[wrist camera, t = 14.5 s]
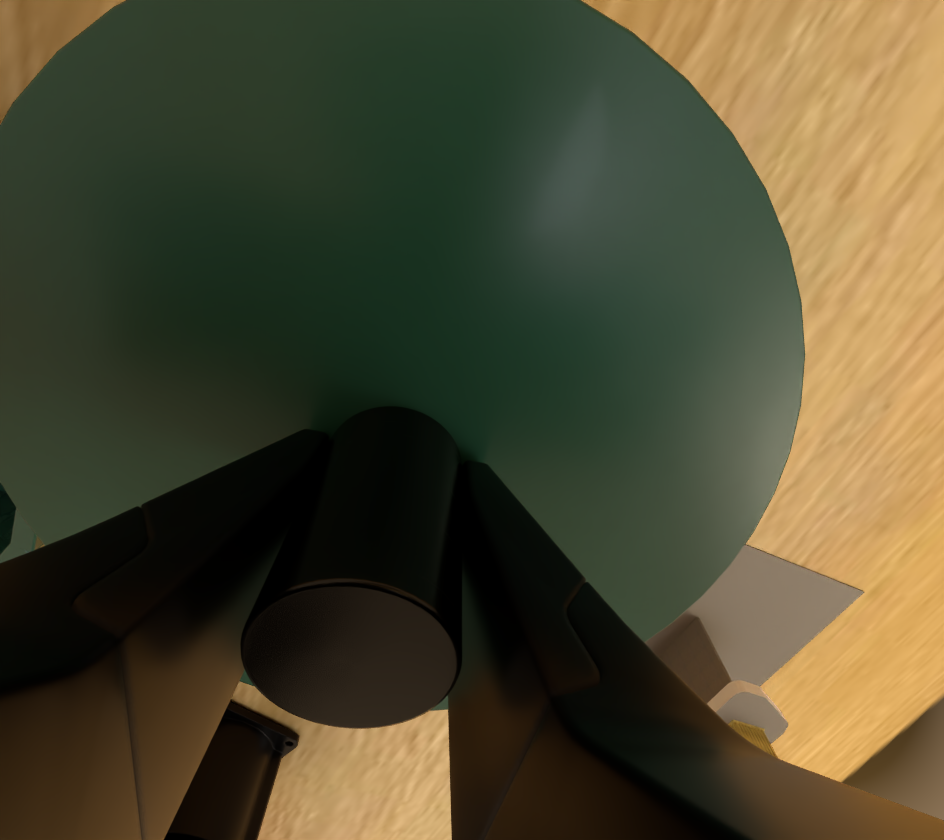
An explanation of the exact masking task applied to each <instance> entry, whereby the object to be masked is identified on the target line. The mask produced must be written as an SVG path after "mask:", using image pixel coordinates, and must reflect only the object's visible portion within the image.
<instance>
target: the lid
mask: <svg viewBox="0 0 944 840" xmlns="http://www.w3.org/2000/svg"><path fill="white" fill-rule="evenodd" d="M804 361H805V347H804V333H803V319H802V304H801V298H800V294H799V289H798V285H797V280H796V276H795V272H794V267H793V263H792V258H791V254H790V250H789V246H788V243H787V241H786V238H785V236H784V233H783V231H782V228H781V226H780V223H779V221H778V218H777V216H776V213H775V211H774V208H773V205H772V203H771V200H770V198H769V195H768V193H767V190H766V188H765V187H764V185H763V183H762V182H761V180H760V178H759V176H758V175H757V173H756V171H755V170H754V168H753V166H752V165H751V163H750V161H749V160H748V158H747V156H746V155H745V153H744V151H743V150H742V148H741V146H740V145H739V143H738V141H737V140H736V138H735V136H734V135H733V133H732V132H731V131H730V129H729V128H728V127H727V126H726V125H725V123H724V122H723V121H722V120H721V119H720V117H719V116H718V115H717V114H716V113H715V112H714V110H713V109H712V108H711V107H710V106H709V104H708V103H707V102H706V101H705V100H704V98H703V97H702V96H701V95H700V94H699V92H698V91H697V90H696V89H695V88H694V86H693V85H692V84H691V83H690V82H689V81H688V80H687V79H686V78H685V77H684V76H683V75H682V74H681V73H679V72H678V71H677V70H676V69H675V68H674V67H672V66H671V65H670V64H669V63H668V62H667V61H665V60H664V59H663V58H662V57H661V56H660V55H659V54H657V53H656V52H655V51H654V50H653V49H652V48H650V47H649V46H648V45H647V44H646V43H645V42H643V41H642V40H641V39H640V38H639V37H638V36H637V35H635V34H634V33H633V32H632V31H630V30H628V29H627V28H625V27H623V26H622V25H620V24H619V23H617V22H615V21H614V20H612V19H610V18H609V17H607V16H605V15H604V14H602V13H601V12H599V11H597V10H596V9H594V8H592V7H591V6H589V5H588V4H586V3H584V2H583V1H581V0H126V1H124V2H122V3H120V4H118V5H116V6H114V7H113V8H112V9H110V10H109V11H108V12H107V13H105V14H104V15H103V16H102V17H100V18H99V19H98V20H96V21H95V22H94V23H93V24H91V25H90V26H89V27H88V28H86V29H85V30H84V31H83V32H81V33H80V34H79V35H78V36H76V37H75V38H74V39H72V40H71V41H70V42H69V43H67V44H66V45H65V46H64V47H62V48H61V49H60V50H59V51H57V52H56V53H55V55H54V56H53V57H52V58H51V59H50V60H49V62H48V63H47V64H46V65H45V66H44V67H43V69H42V70H41V71H40V72H39V73H38V74H37V76H36V77H35V78H34V79H33V80H32V81H31V83H30V84H29V85H28V86H27V87H26V88H25V89H24V91H23V92H22V93H21V94H20V95H19V96H18V98H17V99H16V100H15V101H14V102H13V104H12V105H11V107H10V109H9V111H8V112H7V114H6V116H5V118H4V119H3V121H2V123H1V125H0V483H1V484H2V486H3V487H4V489H5V491H6V492H7V494H8V495H9V497H10V498H11V500H12V502H13V503H14V505H15V506H16V508H17V510H18V511H19V513H20V514H21V516H22V517H23V519H24V520H25V522H26V523H27V524H28V525H29V527H30V528H31V529H32V530H33V532H34V533H35V534H36V535H37V537H38V538H39V539H40V540H41V542H42V543H43V544H44V545H45V546H46V545H49V544H51V543H54V542H56V541H59V540H61V539H64V538H66V537H69V536H71V535H74V534H76V533H78V532H81V531H83V530H85V529H87V528H90V527H92V526H94V525H96V524H99V523H101V522H103V521H106V520H108V519H110V518H112V517H115V516H117V515H119V514H121V513H123V512H125V511H128V510H130V509H132V508H134V507H136V506H139V507H141V505H142V504H143V503H145V502H147V501H150V500H152V499H154V498H156V497H158V496H160V495H162V494H165V493H167V492H169V491H171V490H173V489H175V488H178V487H180V486H182V485H184V484H186V483H188V482H191V481H193V480H195V479H197V478H199V477H201V476H203V475H206V474H208V473H210V472H212V471H214V470H216V469H219V468H221V467H223V466H225V465H227V464H229V463H231V462H234V461H236V460H238V459H240V458H242V457H244V456H247V455H249V454H251V453H253V452H255V451H257V450H260V449H262V448H264V447H266V446H268V445H270V444H272V443H275V442H277V441H279V440H281V439H283V438H285V437H288V436H290V435H292V434H294V433H296V432H298V431H301V430H303V429H310V430H315V431H321V432H325V433H327V434H328V446H327V448H326V450H325V452H324V455H323V457H322V459H321V461H320V463H319V465H318V467H317V470H316V472H315V474H314V476H313V478H312V480H311V483H310V485H309V487H308V489H307V491H306V493H305V496H304V498H303V500H302V502H301V504H300V506H299V509H298V511H297V513H296V515H295V517H294V519H293V522H292V524H291V526H290V528H289V530H288V532H287V534H286V537H285V539H284V541H283V543H282V545H281V547H280V550H279V552H278V554H277V556H276V558H275V560H274V563H273V565H272V567H271V569H270V571H269V573H268V576H267V578H266V580H265V582H264V584H263V586H262V589H261V591H260V593H259V595H258V597H257V599H256V602H255V604H254V606H253V608H252V610H251V612H250V614H249V617H248V619H247V621H246V623H245V626H244V628H243V631H242V635H241V642H240V649H241V659H242V663H243V667H244V669H245V670H244V672H243V675H242V677H241V679H240V681H241V682H244V683H246V684H249V685H252V686H255V687H256V688H257V689H258V690H259V691H260V692H261V693H262V694H263V695H264V696H265V697H266V698H267V699H269V700H270V701H271V702H273V703H274V704H276V705H277V706H278V707H280V708H282V709H284V710H285V711H287V712H289V713H291V714H293V715H296V716H298V717H300V718H303V719H306V720H309V721H312V722H315V723H319V724H323V725H328V726H334V727H341V728H354V729H366V728H379V727H385V726H391V725H395V724H399V723H403V722H406V721H409V720H412V719H414V718H416V717H419V716H421V715H423V714H425V713H426V712H428V711H434V710H447V709H448V694H449V693H450V691H451V690H452V688H453V687H454V685H455V683H456V681H457V679H458V677H459V674H460V671H461V666H462V467H463V464H464V462H465V461H467V460H471V461H476V462H481V463H486V464H488V465H489V466H490V468H491V469H492V470H493V471H494V472H495V473H496V475H497V476H498V477H499V478H500V479H501V480H502V481H503V483H504V484H505V485H506V486H507V487H508V488H509V490H510V491H511V492H512V493H513V494H514V495H515V497H516V498H517V499H518V500H519V501H520V502H521V504H522V505H523V506H524V507H525V508H526V509H527V511H528V512H529V513H530V514H531V515H532V516H533V518H534V519H535V520H536V521H537V522H538V523H539V525H540V526H541V527H542V528H543V529H544V530H545V532H546V533H547V534H548V535H549V536H550V537H551V539H552V540H553V541H554V542H555V543H556V544H557V546H558V547H559V548H560V549H561V550H562V551H563V553H564V554H565V555H566V556H567V557H568V558H569V560H570V561H571V562H572V563H573V564H574V565H575V566H576V568H577V569H578V570H579V571H580V572H581V573H582V575H583V576H584V577H585V578H586V582H589V583H590V584H591V585H592V586H593V587H594V588H595V590H596V591H597V592H598V593H599V594H600V595H601V597H602V598H603V599H604V600H605V601H606V602H607V603H608V604H609V605H610V607H611V608H612V609H613V610H614V611H615V612H616V613H617V614H618V615H619V617H620V618H621V619H622V620H623V621H624V622H625V623H626V624H627V625H628V626H629V627H630V628H631V629H632V630H633V631H634V632H635V633H636V634H637V635H638V636H639V637H640V638H641V639H642V640H643V641H644V642H646V641H648V640H649V639H650V638H652V637H653V636H655V635H656V634H657V633H659V632H660V631H662V630H663V629H664V628H666V627H667V626H669V625H670V624H671V623H673V622H674V621H675V620H676V619H677V618H678V617H679V616H681V615H682V614H683V613H684V612H685V611H686V610H687V609H689V608H690V607H691V606H692V605H693V604H694V603H695V602H696V601H698V600H699V599H700V598H701V597H702V596H703V595H704V594H705V593H706V592H707V590H708V589H709V588H710V587H711V586H712V585H713V584H714V583H715V582H716V581H717V579H718V578H719V577H720V576H721V575H722V574H723V573H724V572H725V571H726V569H727V568H728V567H729V566H730V565H731V563H732V562H733V560H734V559H735V558H736V556H737V555H738V553H739V552H740V551H741V549H742V548H743V546H744V545H745V544H746V542H747V541H748V539H749V538H750V537H751V535H752V534H753V532H754V531H755V529H756V527H757V525H758V523H759V521H760V519H761V518H762V516H763V514H764V512H765V510H766V508H767V506H768V504H769V503H770V501H771V499H772V497H773V495H774V493H775V491H776V488H777V485H778V483H779V480H780V477H781V475H782V472H783V469H784V467H785V464H786V462H787V459H788V456H789V454H790V451H791V446H792V442H793V438H794V433H795V429H796V425H797V420H798V416H799V411H800V407H801V399H802V386H803V374H804Z"/></svg>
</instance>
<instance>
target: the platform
mask: <svg viewBox="0 0 944 840" xmlns="http://www.w3.org/2000/svg"><path fill="white" fill-rule="evenodd" d="M863 593H864V592H863V591H861V590H858V589H855V588H853V587H850V586H848V585H845V584H843V583H840V582H838V581H835V580H833V579H830V578H828V577H825V576H823V575H820V574H818V573H815V572H813V571H810V570H808V569H805V568H803V567H800V566H798V565H795V564H793V563H790V562H788V561H785V560H783V559H780V558H778V557H775V556H772V555H770V554H767V553H765V552H762V551H760V550H757V549H755V548H752V547H750V546H747V545H744V546H743V548H742V549H741V551H740V552H739V553H738V555H737V556H736V558H735V559H734V560H733V562H732V563H731V565H730V566H729V567H728V568H727V569H726V571H725V572H724V573H723V574H722V575H721V576H720V577H719V578H718V579H717V581H716V582H715V583H714V584H713V585H712V586H711V587H710V588H709V589H708V590H707V592H706V593H705V594H704V595H703V596H702V597H701V598H700V599H699V600H698V601H696V602H695V603H694V604H693V605H692V606H691V607H690V608H689V609H687V610H686V611H685V612H684V613H683V614H682V615H681V616H679V617H678V618H677V619H676V620H675V621H674V622H673V623H671V624H670V625H669V626H667V627H666V628H664V629H663V630H662V631H660V632H659V633H657V634H656V635H655V636H653V637H652V638H650V639H649V640H648V641H646V642H645V644H646V645H647V646H648V647H649V648H650V649H651V650H652V651H653V652H654V653H655V654H656V655H657V656H658V657H660V658H661V659H662V660H663V661H664V662H665V663H666V664H667V665H668V666H669V667H670V668H671V669H672V670H673V671H674V672H675V673H676V674H677V675H678V676H679V677H680V678H681V679H682V680H683V681H684V682H685V683H686V684H687V685H688V686H689V687H690V688H691V689H692V690H693V691H694V692H695V693H696V694H697V695H698V696H699V697H700V698H701V699H702V700H703V701H704V702H705V703H706V704H707V705H708V706H709V707H710V708H711V709H713V710H714V711H715V712H716V713H717V714H718V715H719V716H720V717H721V718H722V719H723V720H724V721H725V722H726V723H727V724H728V725H729V726H730V727H733V729H734V730H735V731H736V732H737V733H739V734H740V735H741V736H743V737H744V738H745V739H746V740H748V741H749V742H751V743H752V744H754V745H755V746H757V747H758V748H760V749H762V750H763V751H765V752H767V753H769V754H771V755H773V756H774V757H776V758H778V757H777V755H776V754H775V752H774V750H773V748H772V746H771V743H772V742H774V741H775V740H776V739H777V738H778V737H780V736H781V735H782V734H783V733H784V732H785V730H786V728H787V727H788V723H787V721H786V719H785V717H784V716H783V714H782V712H781V711H780V709H779V708H778V707H777V706H776V705H775V704H774V702H773V701H772V700H771V699H770V698H769V697H768V696H767V694H766V693H765V692H764V691H763V690H762V689H761V687H760V686H761V685H762V684H763V683H764V682H766V681H767V680H768V679H769V678H770V677H771V676H772V675H773V674H774V673H775V672H777V671H778V670H779V669H780V668H781V667H782V666H783V665H784V664H785V663H787V662H788V661H789V660H790V659H791V658H792V657H793V656H794V655H795V654H797V653H798V652H799V651H800V650H801V649H802V648H803V647H804V646H805V645H806V644H808V643H809V642H810V641H811V640H812V639H813V638H814V637H815V636H816V635H818V634H819V633H820V632H821V631H822V630H823V629H824V628H825V627H826V626H828V625H829V624H830V623H831V622H832V621H833V620H834V619H835V618H836V617H837V616H839V615H840V614H841V613H842V612H843V611H844V610H845V609H846V608H847V607H849V606H850V605H851V604H852V603H853V602H854V601H855V600H856V599H857V598H859V597H860V596H861V595H862V594H863ZM731 725H732V726H731Z"/></svg>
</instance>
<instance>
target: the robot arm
mask: <svg viewBox="0 0 944 840" xmlns="http://www.w3.org/2000/svg"><path fill="white" fill-rule="evenodd" d="M327 446H328V434H327V433H325V432H321V431H315V430H310V429H303V430H301V431H298V432H296V433H294V434H292V435H290V436H288V437H285V438H283V439H281V440H279V441H277V442H275V443H272V444H270V445H268V446H266V447H264V448H262V449H260V450H257V451H255V452H253V453H251V454H249V455H247V456H244V457H242V458H240V459H238V460H236V461H234V462H231V463H229V464H227V465H225V466H223V467H221V468H219V469H216V470H214V471H212V472H210V473H208V474H206V475H203V476H201V477H199V478H197V479H195V480H193V481H191V482H188V483H186V484H184V485H182V486H180V487H178V488H175V489H173V490H171V491H169V492H167V493H165V494H162V495H160V496H158V497H156V498H154V499H152V500H150V501H147V502H145V503H143V504H142V505H141V507H139V506H136V507H134V508H132V509H130V510H128V511H125V512H123V513H121V514H119V515H117V516H115V517H112V518H110V519H108V520H106V521H103V522H101V523H99V524H96V525H94V526H92V527H90V528H87V529H85V530H83V531H81V532H78V533H76V534H74V535H71V536H69V537H66V538H64V539H61V540H59V541H56V542H54V543H51V544H49V545H46V546H44V547H41V548H38V549H36V550H33V551H31V552H28V553H26V554H23V555H21V556H18V557H15V558H13V559H10V560H7V561H5V562H2V563H0V840H257V839H258V835H259V832H260V829H261V825H262V822H263V819H264V815H265V812H266V809H267V805H268V802H269V799H270V795H271V792H272V789H273V785H274V782H275V779H276V775H277V772H278V768H279V765H280V762H281V758H283V757H284V756H285V755H286V754H288V753H289V752H290V751H292V750H293V749H294V748H296V747H297V745H298V742H299V735H298V734H296V733H294V732H292V731H290V730H288V729H286V728H284V727H282V726H280V725H277V724H275V723H273V722H271V721H269V720H267V719H265V718H263V717H261V716H258V715H256V714H254V713H252V712H250V711H248V710H246V709H244V708H242V707H239V706H237V705H235V704H233V703H231V702H230V700H231V698H232V695H233V693H234V691H235V689H236V687H237V685H238V683H239V681H240V679H241V677H242V675H243V672H244V670H245V669H244V667H243V663H242V659H241V649H240V642H241V635H242V631H243V628H244V626H245V623H246V621H247V619H248V617H249V614H250V612H251V610H252V608H253V606H254V604H255V602H256V599H257V597H258V595H259V593H260V591H261V589H262V586H263V584H264V582H265V580H266V578H267V576H268V573H269V571H270V569H271V567H272V565H273V563H274V560H275V558H276V556H277V554H278V552H279V550H280V547H281V545H282V543H283V541H284V539H285V537H286V534H287V532H288V530H289V528H290V526H291V524H292V522H293V519H294V517H295V515H296V513H297V511H298V509H299V506H300V504H301V502H302V500H303V498H304V496H305V493H306V491H307V489H308V487H309V485H310V483H311V480H312V478H313V476H314V474H315V472H316V470H317V467H318V465H319V463H320V461H321V459H322V457H323V455H324V452H325V450H326V448H327ZM448 720H449V755H450V791H451V826H452V840H944V820H941V819H938V818H935V817H933V816H930V815H927V814H925V813H922V812H919V811H917V810H914V809H911V808H908V807H906V806H903V805H900V804H898V803H895V802H892V801H890V800H887V799H884V798H881V797H879V796H876V795H873V794H870V793H868V792H865V791H862V790H860V789H857V788H854V787H852V786H849V785H846V784H843V783H841V782H838V781H836V780H833V779H830V778H827V777H825V776H822V775H819V774H817V773H814V772H811V771H809V770H806V769H803V768H800V767H798V766H795V765H792V764H790V763H787V762H785V761H783V760H780V759H778V758H776V757H774V756H773V755H771V754H769V753H767V752H765V751H763V750H762V749H760V748H758V747H757V746H755V745H754V744H752V743H751V742H749V741H748V740H746V739H745V738H744V737H743V736H741V735H740V734H739V733H737V732H736V731H735V730H734V729H733V728H732V727H730V726H729V725H728V724H727V723H726V722H725V721H724V720H723V719H722V718H721V717H720V716H719V715H718V714H717V713H716V712H715V711H714V710H713V709H711V708H710V707H709V706H708V705H707V704H706V703H705V702H704V701H703V700H702V699H701V698H700V697H699V696H698V695H697V694H696V693H695V692H694V691H693V690H692V689H691V688H690V687H689V686H688V685H687V684H686V683H685V682H684V681H683V680H682V679H681V678H680V677H679V676H678V675H677V674H676V673H675V672H674V671H673V670H672V669H671V668H670V667H669V666H668V665H667V664H666V663H665V662H664V661H663V660H662V659H661V658H660V657H658V656H657V655H656V654H655V653H654V652H653V651H652V650H651V649H650V648H649V647H648V646H647V645H646V644H645V642H644V641H643V640H642V639H641V638H640V637H639V636H638V635H637V634H636V633H635V632H634V631H633V630H632V629H631V628H630V627H629V626H628V625H627V624H626V623H625V622H624V621H623V620H622V619H621V618H620V617H619V615H618V614H617V613H616V612H615V611H614V610H613V609H612V608H611V607H610V605H609V604H608V603H607V602H606V601H605V600H604V599H603V598H602V597H601V595H600V594H599V593H598V592H597V591H596V590H595V588H594V587H593V586H592V585H591V584H590V583H589V582H586V578H585V577H584V576H583V575H582V573H581V572H580V571H579V570H578V569H577V568H576V566H575V565H574V564H573V563H572V562H571V561H570V560H569V558H568V557H567V556H566V555H565V554H564V553H563V551H562V550H561V549H560V548H559V547H558V546H557V544H556V543H555V542H554V541H553V540H552V539H551V537H550V536H549V535H548V534H547V533H546V532H545V530H544V529H543V528H542V527H541V526H540V525H539V523H538V522H537V521H536V520H535V519H534V518H533V516H532V515H531V514H530V513H529V512H528V511H527V509H526V508H525V507H524V506H523V505H522V504H521V502H520V501H519V500H518V499H517V498H516V497H515V495H514V494H513V493H512V492H511V491H510V490H509V488H508V487H507V486H506V485H505V484H504V483H503V481H502V480H501V479H500V478H499V477H498V476H497V475H496V473H495V472H494V471H493V470H492V469H491V468H490V466H489V465H488V464H486V463H481V462H476V461H471V460H467V461H465V462H464V464H463V467H462V666H461V671H460V674H459V677H458V679H457V681H456V683H455V685H454V687H453V688H452V690H451V691H450V693H449V694H448Z"/></svg>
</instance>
